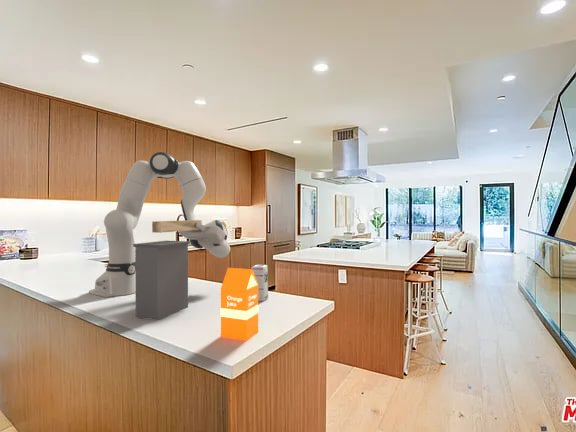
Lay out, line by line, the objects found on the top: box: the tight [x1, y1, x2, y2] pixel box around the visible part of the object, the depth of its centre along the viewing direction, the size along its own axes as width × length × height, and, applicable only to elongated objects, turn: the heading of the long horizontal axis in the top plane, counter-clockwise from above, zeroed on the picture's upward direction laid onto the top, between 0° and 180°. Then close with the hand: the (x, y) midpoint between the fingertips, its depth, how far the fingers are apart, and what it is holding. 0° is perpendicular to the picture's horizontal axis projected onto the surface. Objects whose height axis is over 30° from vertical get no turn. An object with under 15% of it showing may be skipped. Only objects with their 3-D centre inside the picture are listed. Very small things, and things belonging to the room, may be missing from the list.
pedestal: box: [133, 240, 191, 321], centre depth 118 cm, size 12×16×26 cm
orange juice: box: [220, 267, 259, 342], centre depth 96 cm, size 8×9×20 cm
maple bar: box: [151, 219, 203, 233], centre depth 126 cm, size 4×24×4 cm, turn 159°
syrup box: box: [250, 264, 269, 302], centre depth 136 cm, size 6×6×14 cm
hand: (190, 224), depth 133 cm, fingers closed on maple bar, 4 cm apart
